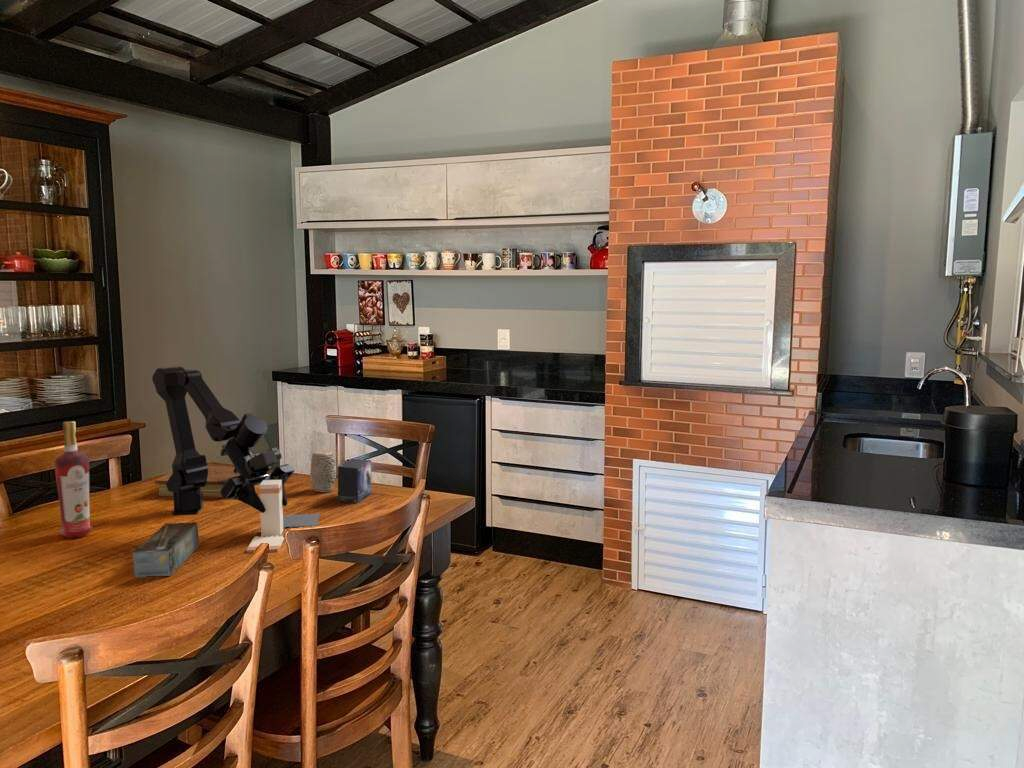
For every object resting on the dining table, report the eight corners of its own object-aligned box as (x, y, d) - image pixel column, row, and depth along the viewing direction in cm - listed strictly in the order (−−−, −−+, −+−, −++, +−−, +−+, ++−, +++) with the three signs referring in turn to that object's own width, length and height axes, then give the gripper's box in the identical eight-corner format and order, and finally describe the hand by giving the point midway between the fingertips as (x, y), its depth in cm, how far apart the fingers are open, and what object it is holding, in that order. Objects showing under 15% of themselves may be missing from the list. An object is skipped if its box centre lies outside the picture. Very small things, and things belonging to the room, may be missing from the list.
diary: (258, 484, 237) (258, 466, 236) (234, 501, 219) (233, 481, 218) (186, 482, 238) (185, 464, 237) (155, 499, 220) (154, 479, 219)
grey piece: (131, 579, 159) (129, 548, 159) (165, 548, 178) (164, 520, 178) (170, 578, 160) (169, 547, 159) (200, 547, 179) (199, 520, 178)
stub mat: (275, 528, 192) (275, 526, 192) (281, 516, 202) (281, 515, 202) (315, 527, 194) (315, 525, 194) (320, 515, 203) (320, 513, 203)
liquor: (88, 528, 191) (81, 418, 188) (97, 535, 186) (90, 422, 183) (55, 535, 186) (47, 422, 183) (64, 542, 181) (56, 426, 178)
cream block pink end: (277, 551, 176) (277, 548, 175) (246, 553, 175) (245, 550, 175) (284, 537, 185) (284, 534, 185) (254, 538, 184) (254, 535, 184)
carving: (333, 493, 225) (332, 453, 223) (307, 493, 225) (306, 453, 223) (338, 488, 231) (337, 449, 229) (313, 487, 231) (312, 449, 229)
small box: (358, 504, 214) (357, 467, 213) (337, 502, 216) (336, 466, 214) (372, 494, 225) (372, 459, 223) (352, 492, 226) (351, 458, 225)
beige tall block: (261, 536, 186) (259, 484, 184) (264, 530, 190) (262, 480, 189) (280, 536, 186) (278, 484, 185) (283, 530, 191) (281, 479, 189)
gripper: (226, 445, 180) (259, 498, 175) (288, 432, 195) (319, 481, 191) (206, 473, 185) (238, 525, 180) (268, 459, 201) (298, 506, 196)
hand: (275, 508), depth 187 cm, fingers closed on beige tall block, 6 cm apart
